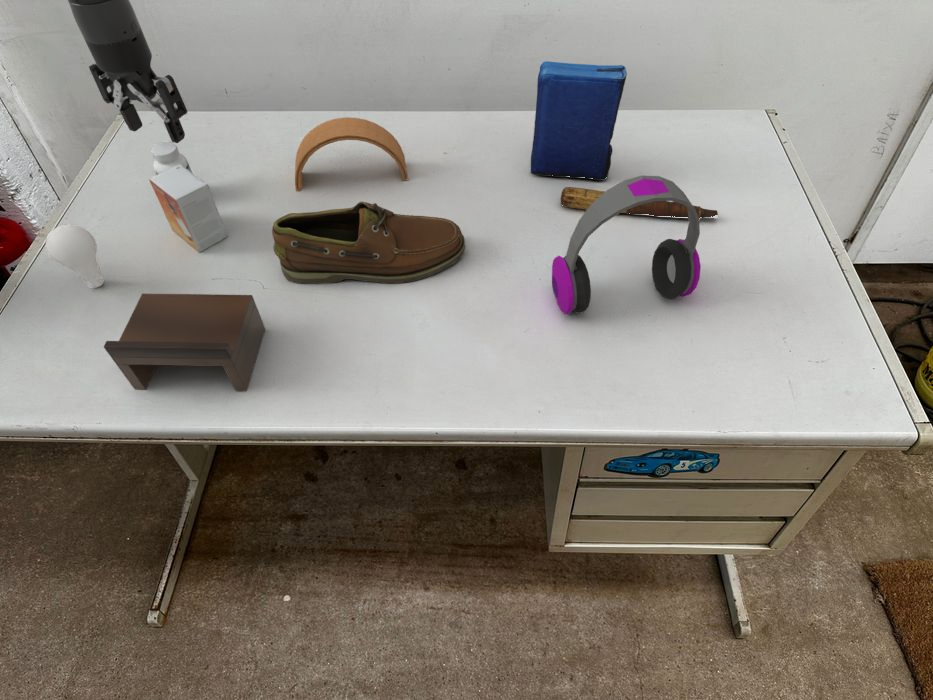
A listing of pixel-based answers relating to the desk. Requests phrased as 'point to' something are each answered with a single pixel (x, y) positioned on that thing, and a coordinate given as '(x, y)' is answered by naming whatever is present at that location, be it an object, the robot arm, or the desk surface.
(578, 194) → the hand tool
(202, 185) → the small box
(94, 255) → the lightbulb
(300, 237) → the boat shoe
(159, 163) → the pill bottle
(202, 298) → the shelf
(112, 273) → the desk surface
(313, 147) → the arch
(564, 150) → the book
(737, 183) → the desk surface
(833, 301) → the desk surface
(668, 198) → the headphones
